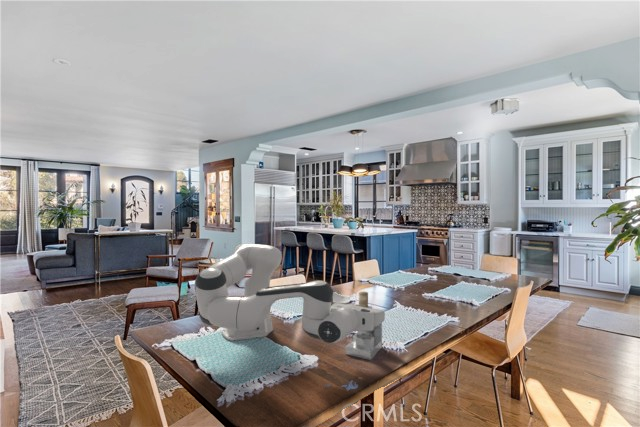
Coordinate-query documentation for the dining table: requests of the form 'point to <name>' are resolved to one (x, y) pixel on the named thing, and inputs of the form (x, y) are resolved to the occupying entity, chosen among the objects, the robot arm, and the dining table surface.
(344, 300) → the spoon rest
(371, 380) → the dining table surface
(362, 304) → the beige banded cylinder
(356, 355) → the cup bracket
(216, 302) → the robot arm
